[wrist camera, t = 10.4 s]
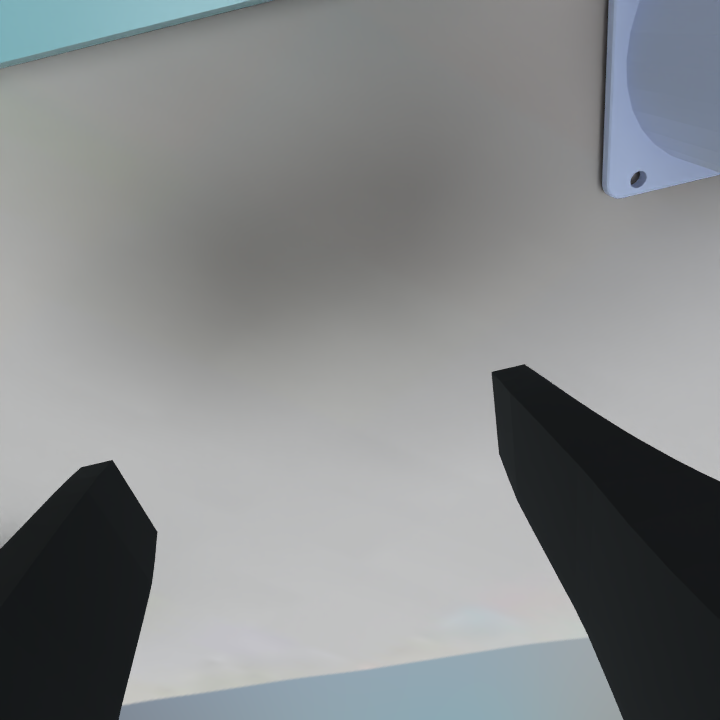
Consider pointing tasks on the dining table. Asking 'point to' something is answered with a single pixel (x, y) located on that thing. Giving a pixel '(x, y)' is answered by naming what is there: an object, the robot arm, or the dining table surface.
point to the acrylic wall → (91, 22)
